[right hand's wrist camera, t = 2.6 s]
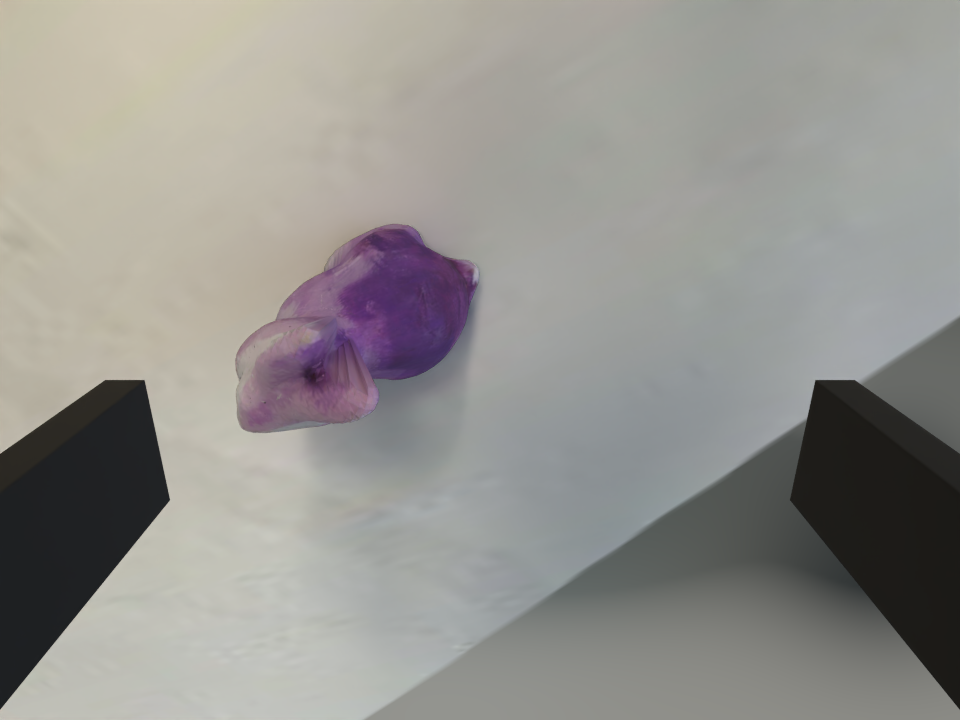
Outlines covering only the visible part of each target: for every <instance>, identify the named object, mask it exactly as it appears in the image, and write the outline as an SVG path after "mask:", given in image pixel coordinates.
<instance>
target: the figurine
mask: <svg viewBox="0 0 960 720" xmlns="http://www.w3.org/2000/svg"><path fill="white" fill-rule="evenodd" d="M478 282H479V269H478V267H477V266H476V265H475V264H474V263H472V262H470V261H468V260H457V259H452V258H447V257H444V256H441V255H440V254H438V253H436V252H434V251H432V250H431V249H429V248H427V247H426V246H425V245H424V243H423V241H422V239H421V237H420V235H419V233H418V231H416V230H415V229H414V228H412V227H411V226H408V225H400V224H390V225H385V226H382V227H379V228H375V229H373V230H371V231H369V232H367V233H364V234H362V235H360V236H358V237H356V238H354V239H352V240H350V241H349V242H348V243H346V244H344V245H343V246H341V247H340V248H339V249H337V250H336V251H335V252H334V253H333V254H332V255H331V257H330V258H329V259H328V261H327V263H326V265H325V268H324V272H323V273H321V274H319V275H317V276H315V277H313V278H311V279H309V280H308V281H306V282H305V283H303V284H302V285H301V286H300V287H299V288H297V289H296V290H295V291H294V292H293V293H292V294H291V295H290V296H289V297H288V298H287V299H286V300H285V302H284V303H283V304H282V306H281V308H280V310H279V313H278V315H277V318H276V321H274V322H271V323H268V324H266V325H264V326H263V327H261V328H260V329H258V330H257V331H256V332H254V333H253V334H252V335H250V336H249V337H248V338H247V339H246V340H245V342H244V343H243V344H242V346H241V347H240V349H239V351H238V352H237V356H236V372H237V375H238V378H239V384H238V387H237V390H236V401H237V418H238V421H239V425H240V426H241V428H242V429H243V430H246V431H249V432H253V433H270V432H279V431H288V430H294V429H301V428H308V427H317V426H323V425H327V424H330V423H333V424H334V423H346V422H353V421H356V420H359V419H360V418H362V417H365V416H366V415H368V414H369V413H371V412H372V411H373V410H374V409H375V407H376V405H377V403H378V401H379V391H378V389H377V387H376V385H375V383H374V381H373V379H390V380H399V379H405V378H410V377H413V376H417V375H419V374H421V373H423V372H426V371H427V370H429V369H430V368H432V367H434V366H435V365H436V364H437V363H439V362H440V361H441V360H442V359H443V358H444V357H445V356H446V355H447V353H448V352H449V351H450V350H451V348H452V347H453V345H454V344H455V342H456V341H457V339H458V337H459V336H460V334H461V331H462V329H463V327H464V325H465V322H466V319H467V314H468V309H469V305H470V302H471V299H472V297H473V294H474V292H475V290H476V287H477V285H478Z"/></svg>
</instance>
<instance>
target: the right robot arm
mask: <svg viewBox="0 0 960 720" xmlns="http://www.w3.org/2000/svg"><path fill="white" fill-rule="evenodd" d="M169 501H170V498H169V493H168V489H167V484H166V479H165V474H164V470H163V465H162V460H161V456H160V451H159V446H158V442H157V437H156V432H155V427H154V423H153V418H152V413H151V409H150V404H149V399H148V394H147V390H146V385H145V380H105V381H103V382H102V383H101V384H99V385H98V386H96V387H95V388H94V389H92V390H91V391H89V392H88V393H86V394H85V395H84V396H82V397H81V398H79V399H78V400H76V401H75V402H74V403H72V404H71V405H69V406H68V407H66V408H65V409H64V410H62V411H61V412H59V413H58V414H56V415H55V416H54V417H52V418H51V419H49V420H48V421H46V422H45V423H44V424H42V425H41V426H39V427H38V428H36V429H35V430H34V431H32V432H31V433H29V434H28V435H26V436H25V437H24V438H22V439H21V440H19V441H18V442H17V443H15V444H14V445H12V446H11V447H9V448H8V449H7V450H5V451H4V452H2V453H1V454H0V709H1V708H2V707H3V705H4V704H5V703H6V702H7V701H8V699H9V698H10V697H11V696H12V694H13V693H14V692H15V691H16V689H17V688H18V687H19V686H20V684H21V683H22V682H23V681H24V680H25V678H26V677H27V676H28V675H29V673H30V672H31V671H32V670H33V668H34V667H35V666H36V665H37V663H38V662H39V661H40V660H41V659H42V657H43V656H44V655H45V654H46V652H47V651H48V650H49V649H50V647H51V646H52V645H53V644H54V643H55V641H56V640H57V639H58V638H59V636H60V635H61V634H62V633H63V631H64V630H65V629H66V628H67V626H68V625H69V624H70V623H71V622H72V620H73V619H74V618H75V617H76V615H77V614H78V613H79V612H80V610H81V609H82V608H83V607H84V605H85V604H86V603H87V602H88V601H89V599H90V598H91V597H92V596H93V594H94V593H95V592H96V591H97V589H98V588H99V587H100V586H101V585H102V583H103V582H104V581H105V580H106V578H107V577H108V576H109V575H110V573H111V572H112V571H113V570H114V568H115V567H116V566H117V565H118V564H119V562H120V561H121V560H122V559H123V557H124V556H125V555H126V554H127V552H128V551H129V550H130V549H131V547H132V546H133V545H134V544H135V543H136V541H137V540H138V539H139V538H140V536H141V535H142V534H143V533H144V531H145V530H146V529H147V528H148V527H149V525H150V524H151V523H152V522H153V520H154V519H155V518H156V517H157V515H158V514H159V513H160V512H161V510H162V509H163V508H164V507H165V506H166V504H167V503H168V502H169ZM790 501H791V502H792V503H793V504H794V506H795V507H796V508H797V509H798V510H799V512H800V513H801V514H802V515H803V517H804V518H805V519H806V520H807V521H808V523H809V524H810V525H811V527H812V528H813V529H814V530H815V531H816V533H817V534H818V535H819V536H820V538H821V539H822V540H823V541H824V543H825V544H826V545H827V546H828V547H829V549H830V550H831V551H832V552H833V554H834V555H835V556H836V557H837V559H838V560H839V561H840V562H841V564H842V565H843V566H844V567H845V568H846V570H847V571H848V572H849V573H850V575H851V576H852V577H853V578H854V580H855V581H856V582H857V583H858V585H859V586H860V587H861V588H862V589H863V591H864V592H865V593H866V594H867V596H868V597H869V598H870V599H871V600H872V602H873V603H874V604H875V605H876V607H877V608H878V609H879V610H880V612H881V613H882V614H883V615H884V617H885V618H886V619H887V620H888V621H889V623H890V624H891V625H892V626H893V628H894V629H895V630H896V631H897V633H898V634H899V635H900V636H901V638H902V639H903V640H904V641H905V642H906V644H907V645H908V646H909V647H910V649H911V650H912V651H913V652H914V654H915V655H916V656H917V657H918V659H919V660H920V661H921V662H922V663H923V665H924V666H925V667H926V668H927V670H928V671H929V672H930V673H931V675H932V676H933V677H934V678H935V680H936V681H937V682H938V683H939V684H940V686H941V687H942V688H943V689H944V691H945V692H946V693H947V694H948V696H949V697H950V698H951V699H952V700H953V702H954V703H955V704H956V705H957V707H958V708H959V709H960V454H959V453H958V452H956V451H955V450H953V449H952V448H951V447H949V446H948V445H946V444H945V443H943V442H942V441H941V440H939V439H938V438H936V437H935V436H934V435H932V434H931V433H929V432H928V431H926V430H925V429H923V428H922V427H921V426H919V425H918V424H916V423H915V422H913V421H912V420H911V419H909V418H908V417H906V416H905V415H904V414H902V413H901V412H899V411H898V410H896V409H895V408H894V407H892V406H891V405H889V404H888V403H886V402H885V401H883V400H882V399H881V398H879V397H878V396H876V395H875V394H874V393H872V392H871V391H869V390H868V389H866V388H865V387H864V386H862V385H861V384H859V383H858V382H857V381H855V380H815V385H814V390H813V394H812V399H811V404H810V409H809V413H808V418H807V423H806V428H805V432H804V437H803V442H802V446H801V451H800V456H799V460H798V465H797V470H796V474H795V479H794V484H793V489H792V493H791V498H790Z"/></svg>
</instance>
